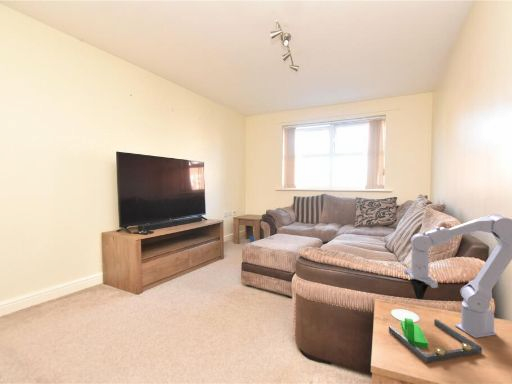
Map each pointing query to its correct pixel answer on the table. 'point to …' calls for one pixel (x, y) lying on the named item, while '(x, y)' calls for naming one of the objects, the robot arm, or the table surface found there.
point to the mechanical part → (414, 333)
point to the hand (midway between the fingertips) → (419, 297)
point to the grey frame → (440, 354)
